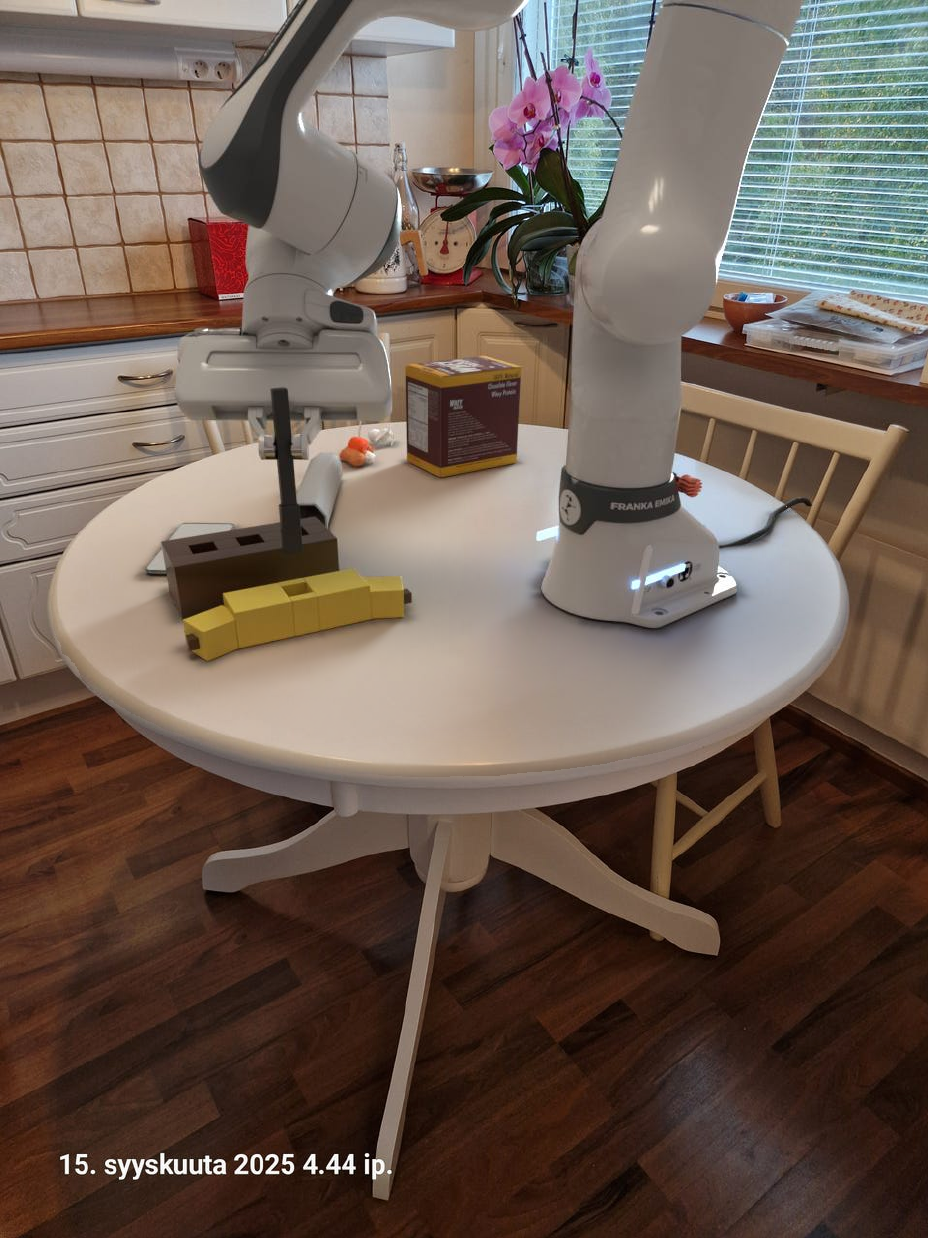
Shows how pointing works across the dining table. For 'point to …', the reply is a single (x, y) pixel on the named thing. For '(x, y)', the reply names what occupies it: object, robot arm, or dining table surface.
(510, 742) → the dining table surface
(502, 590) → the dining table surface
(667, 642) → the dining table surface
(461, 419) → the supplement box
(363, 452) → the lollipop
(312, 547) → the cutlery block
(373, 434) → the white bird figurine
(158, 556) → the smartphone
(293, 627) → the banana
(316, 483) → the tube
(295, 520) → the dark grey stepped rod
